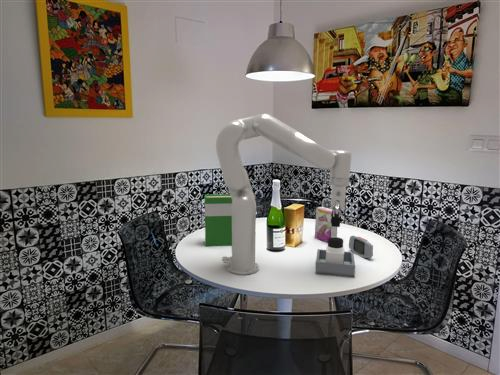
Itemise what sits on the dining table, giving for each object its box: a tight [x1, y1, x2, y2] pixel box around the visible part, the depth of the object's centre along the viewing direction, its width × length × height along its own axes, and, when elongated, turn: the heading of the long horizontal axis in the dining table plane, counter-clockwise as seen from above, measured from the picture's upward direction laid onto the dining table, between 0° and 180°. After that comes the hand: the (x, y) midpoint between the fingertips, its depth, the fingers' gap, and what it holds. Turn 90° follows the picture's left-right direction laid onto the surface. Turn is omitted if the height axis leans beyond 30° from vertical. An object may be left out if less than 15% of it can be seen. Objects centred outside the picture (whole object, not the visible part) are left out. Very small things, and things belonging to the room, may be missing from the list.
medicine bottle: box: [325, 236, 345, 264], centre depth 151 cm, size 7×7×12 cm
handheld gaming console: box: [348, 235, 374, 259], centre depth 166 cm, size 14×3×8 cm, turn 24°
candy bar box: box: [314, 206, 338, 244], centre depth 185 cm, size 11×5×16 cm, turn 34°
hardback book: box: [204, 193, 232, 247], centre depth 179 cm, size 18×7×24 cm, turn 97°
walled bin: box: [315, 248, 356, 279], centre depth 151 cm, size 15×15×5 cm
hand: (335, 223), depth 148 cm, fingers open, 9 cm apart
